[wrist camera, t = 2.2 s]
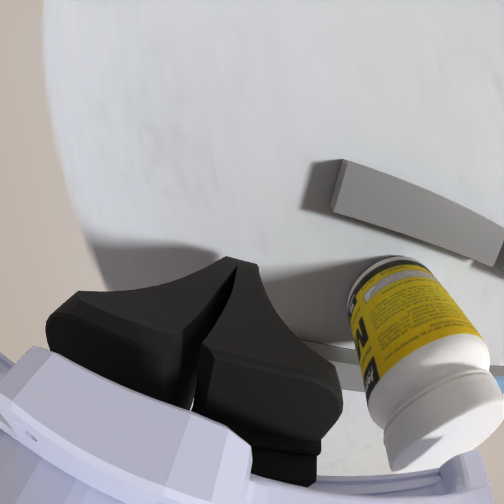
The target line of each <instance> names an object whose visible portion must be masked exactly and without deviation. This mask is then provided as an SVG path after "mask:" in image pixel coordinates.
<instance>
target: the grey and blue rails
mask: <svg viewBox="0 0 504 504" xmlns="http://www.w3.org/2000/svg"><path fill="white" fill-rule="evenodd" d="M330 207H331V208H332V210H333V212H335V213H339V214H342V215H345V216H349V217H352V218H355V219H359V220H362V221H365V222H368V223H372V224H375V225H378V226H381V227H384V228H387V229H390V230H393V231H396V232H399V233H402V234H405V235H408V236H411V237H414V238H417V239H420V240H423V241H425V242H428V243H431V244H434V245H437V246H439V247H442V248H445V249H447V250H450V251H453V252H455V253H458V254H461V255H463V256H466V257H468V258H471V259H473V260H476V261H478V262H481V263H483V264H486V265H488V266H491V267H493V266H494V265H496V266H497V267H498V268H499V269H500V270H502V271H503V272H504V228H503V227H501V226H499V225H498V224H496V223H494V222H492V221H490V220H489V219H487V218H485V217H483V216H481V215H479V214H477V213H475V212H473V211H471V210H469V209H467V208H465V207H463V206H461V205H459V204H457V203H455V202H453V201H451V200H448V199H446V198H444V197H442V196H440V195H437V194H435V193H433V192H431V191H428V190H426V189H424V188H421V187H419V186H416V185H414V184H411V183H409V182H406V181H404V180H401V179H399V178H396V177H394V176H391V175H388V174H386V173H383V172H380V171H377V170H374V169H372V168H369V167H366V166H363V165H360V164H357V163H354V162H351V161H348V160H345V159H342V163H341V166H340V170H339V174H338V177H337V181H336V185H335V188H334V192H333V195H332V198H331V202H330ZM300 340H301V339H300ZM301 341H302V342H303V343H305V344H306V345H307V346H308V347H309V348H310V349H312V350H313V351H314V352H316V353H317V354H319V355H320V356H322V357H323V358H324V359H326V360H327V361H329V362H330V363H332V364H333V365H335V367H336V371H337V374H338V378H339V381H340V386H341V389H344V390H352V391H360V392H365V389H364V384H363V379H362V374H361V369H360V365H359V361H358V357H357V352H356V350H351V349H346V348H340V347H335V346H330V345H325V344H320V343H315V342H310V341H305V340H301ZM489 372H490V373H491V374H492V376H493V377H494V378H495V380H496V381H497V384H498V386H499V388H500V390H501V392H502V394H503V393H504V366H490V367H489Z"/></svg>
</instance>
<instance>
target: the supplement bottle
mask: <svg viewBox="0 0 504 504" xmlns="http://www.w3.org/2000/svg"><path fill="white" fill-rule="evenodd" d="M347 315H348V320H349V324H350V328H351V331H352V335H353V340H354V343H355V348H356V352H357V357H358V361H359V365H360V369H361V374H362V379H363V384H364V389H365V393H366V400H367V406H368V410H369V413H370V416H371V418H372V419H373V421H374V422H375V423H376V424H377V425H378V426H379V427H380V428H382V429H384V445H385V447H386V451H387V456H388V461H389V465H390V469H391V470H392V471H393V472H394V473H396V474H400V473H409V472H416V471H423V470H429V469H435V468H439V467H441V465H443V464H444V463H445V462H446V461H447V460H449V459H450V458H452V457H454V456H456V455H458V454H461V453H465V452H469V451H471V450H472V449H474V448H475V447H477V446H478V445H479V444H481V443H482V442H483V441H484V440H485V439H487V438H488V437H489V436H490V435H491V434H492V433H493V432H494V430H495V429H496V428H497V427H498V426H499V425H500V423H501V422H502V420H503V419H504V396H503V394H502V392H501V390H500V388H499V386H498V384H497V381H496V380H495V378H494V377H493V376H492V374H491V373H490V372H489V367H490V356H489V351H488V348H487V345H486V343H485V342H484V340H483V339H482V337H481V336H480V334H479V333H478V332H477V330H476V329H475V328H474V326H473V325H472V324H471V322H470V321H469V320H468V318H467V317H466V316H465V314H464V313H463V312H462V310H461V309H460V308H459V306H458V305H457V304H456V303H455V301H454V300H453V299H452V297H451V296H450V295H449V294H448V292H447V291H446V290H445V289H444V288H443V286H442V285H441V284H440V282H439V281H438V280H437V279H436V278H435V276H434V275H433V274H432V273H431V272H430V271H429V270H428V268H427V267H426V266H425V265H423V264H422V263H421V262H419V261H417V260H415V259H413V258H409V257H402V256H400V257H391V258H387V259H384V260H382V261H379V262H377V263H376V264H374V265H372V266H371V267H370V268H368V269H367V270H366V271H365V272H364V273H363V274H362V275H361V276H360V277H359V278H358V279H357V280H356V282H355V283H354V285H353V287H352V289H351V291H350V294H349V297H348V301H347Z"/></svg>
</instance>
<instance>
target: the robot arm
mask: <svg viewBox="0 0 504 504" xmlns="http://www.w3.org/2000/svg"><path fill="white" fill-rule="evenodd" d="M45 330H46V337H47V342H48V345H49V348H50V351H49V350H47V349H44V348H41V347H37V346H33V347H32V348H31V349H30V350H28V351H27V352H26V353H25V354H24V355H23V356H22V357H21V358H20V359H19V360H18V362H17V363H16V364H15V363H13V362H12V361H11V360H9V359H8V358H7V357H6V356H4V355H3V354H2V353H1V352H0V504H495V502H494V497H493V493H492V489H491V485H490V482H489V478H488V474H487V471H486V468H485V464H484V461H483V458H482V456H481V452H480V450H474V451H470V452H465V453H461V454H458V455H456V456H454V457H452V458H450V459H449V460H447V461H446V462H445V463H444V464H443V465H441V467H440V468H435V469H429V470H423V471H416V472H409V473H400V474H390V475H376V476H318V475H317V456H318V455H319V454H320V453H321V439H322V438H323V437H324V436H325V435H326V433H327V432H328V431H329V430H330V429H331V428H332V426H333V425H334V424H335V423H336V421H337V420H338V419H339V417H340V415H341V413H342V410H343V398H342V390H341V386H340V381H339V378H338V374H337V371H336V367H335V365H333V364H332V363H330V362H329V361H327V360H326V359H324V358H323V357H322V356H320V355H319V354H317V353H316V352H314V351H313V350H312V349H310V348H309V347H308V346H307V345H306V344H305V343H303V342H302V341H301V340H300V339H299V338H298V337H297V336H296V335H295V334H294V333H293V332H292V331H291V330H290V329H289V328H288V327H287V325H286V324H285V323H284V322H283V321H282V319H281V318H280V317H279V315H278V314H277V313H276V311H275V309H274V308H273V306H272V304H271V302H270V300H269V298H268V296H267V294H266V292H265V289H264V287H263V284H262V281H261V278H260V274H259V267H258V265H257V264H254V263H250V262H246V261H243V260H239V259H235V258H231V257H227V256H226V257H224V258H222V259H220V260H218V261H216V262H215V263H213V264H211V265H209V266H207V267H206V268H204V269H202V270H200V271H197V272H195V273H193V274H191V275H188V276H186V277H184V278H181V279H178V280H175V281H172V282H169V283H166V284H162V285H158V286H153V287H147V288H142V289H136V290H127V291H113V292H97V291H78V292H76V293H75V294H74V295H73V296H72V297H70V298H69V299H68V300H67V301H66V302H65V303H63V304H62V305H61V306H60V307H59V308H58V309H57V310H56V311H54V312H53V313H52V314H51V315H50V316H49V318H48V320H47V321H46V329H45ZM193 399H194V403H193V407H192V410H191V411H190V408H191V405H192V402H193Z"/></svg>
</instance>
